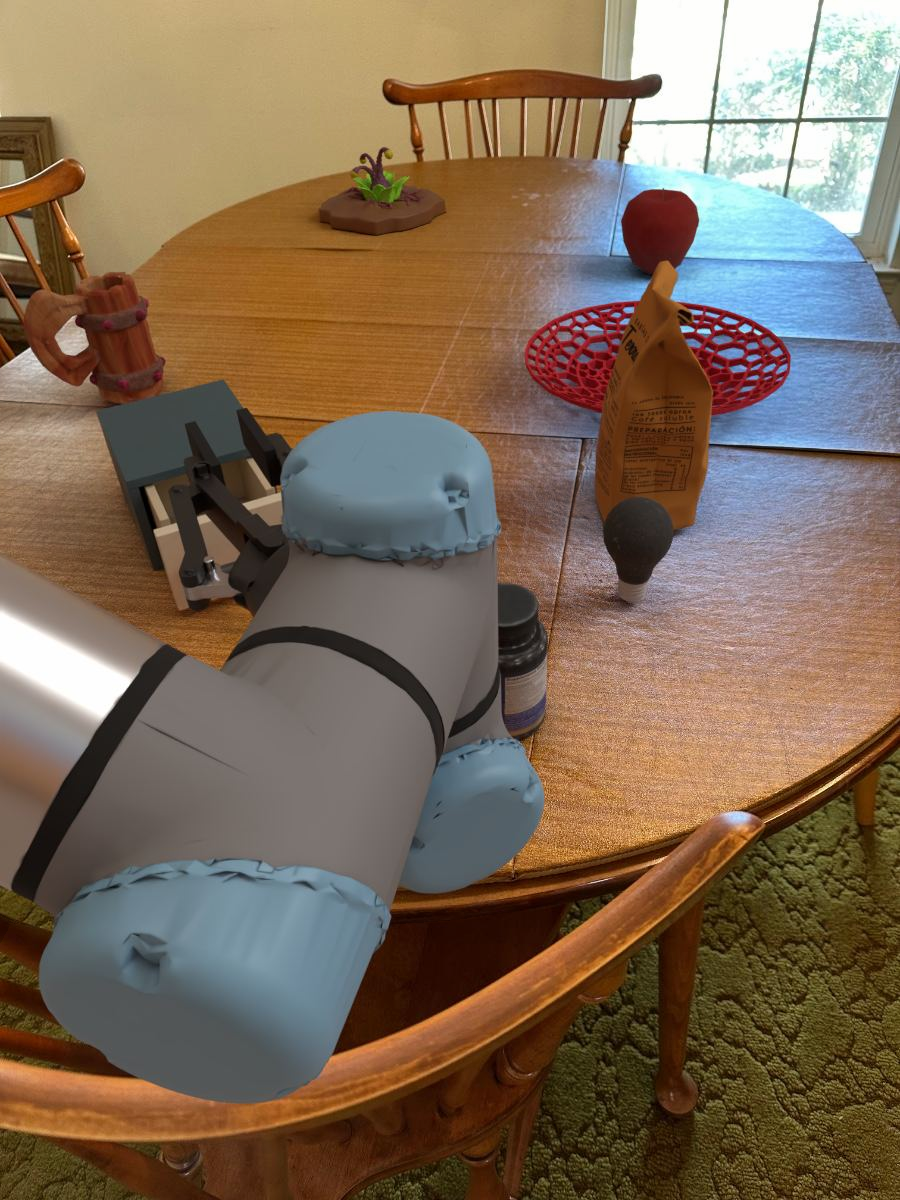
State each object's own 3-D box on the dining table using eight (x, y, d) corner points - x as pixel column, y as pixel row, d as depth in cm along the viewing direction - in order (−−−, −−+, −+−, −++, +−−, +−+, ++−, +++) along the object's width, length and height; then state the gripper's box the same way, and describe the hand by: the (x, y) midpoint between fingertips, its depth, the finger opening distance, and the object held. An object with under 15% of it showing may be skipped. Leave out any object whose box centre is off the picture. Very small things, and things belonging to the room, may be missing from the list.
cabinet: (285, 531, 90) (267, 442, 84) (154, 571, 86) (125, 481, 80) (242, 462, 101) (223, 378, 95) (123, 495, 97) (95, 410, 91)
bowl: (642, 489, 93) (646, 445, 90) (474, 383, 112) (473, 344, 109) (840, 401, 105) (850, 359, 101) (657, 319, 124) (660, 282, 121)
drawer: (322, 596, 81) (308, 521, 76) (190, 640, 77) (167, 564, 72) (261, 497, 93) (246, 428, 88) (145, 531, 90) (123, 461, 85)
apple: (604, 267, 139) (608, 184, 132) (663, 253, 143) (671, 172, 135) (646, 290, 132) (653, 204, 124) (708, 275, 135) (719, 190, 127)
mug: (156, 372, 119) (124, 254, 109) (186, 393, 114) (155, 271, 104) (45, 411, 112) (0, 289, 103) (71, 436, 107) (27, 309, 98)
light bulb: (607, 574, 83) (614, 478, 76) (670, 586, 81) (683, 489, 75) (590, 613, 79) (597, 515, 72) (657, 627, 77) (669, 528, 71)
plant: (380, 242, 153) (373, 169, 145) (303, 220, 163) (293, 151, 156) (463, 209, 163) (460, 140, 156) (385, 191, 174) (379, 125, 167)
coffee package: (691, 469, 95) (720, 252, 81) (702, 541, 86) (738, 310, 72) (593, 467, 96) (605, 254, 82) (593, 538, 87) (607, 310, 73)
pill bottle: (450, 704, 71) (442, 592, 64) (519, 675, 73) (519, 564, 66) (490, 757, 67) (486, 644, 60) (562, 726, 69) (566, 613, 62)
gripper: (205, 730, 48) (119, 510, 65) (479, 630, 53) (334, 449, 70) (170, 621, 44) (87, 413, 60) (474, 522, 49) (320, 355, 65)
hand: (220, 433), depth 65 cm, fingers open, 3 cm apart
